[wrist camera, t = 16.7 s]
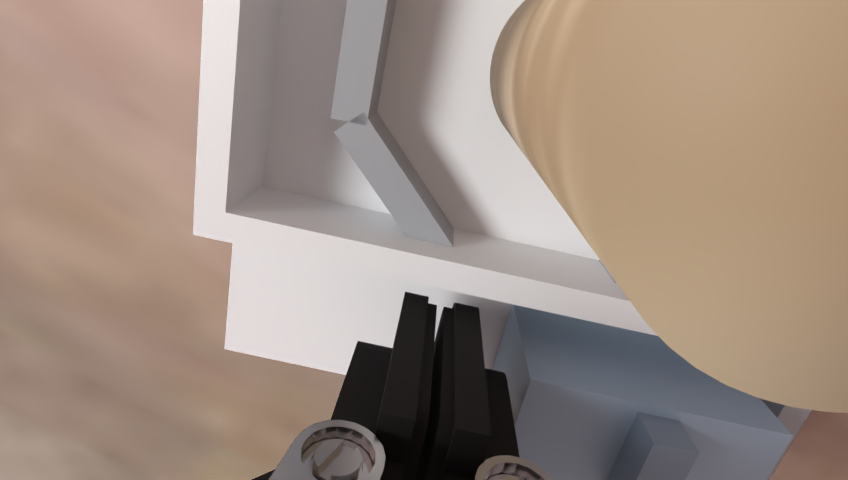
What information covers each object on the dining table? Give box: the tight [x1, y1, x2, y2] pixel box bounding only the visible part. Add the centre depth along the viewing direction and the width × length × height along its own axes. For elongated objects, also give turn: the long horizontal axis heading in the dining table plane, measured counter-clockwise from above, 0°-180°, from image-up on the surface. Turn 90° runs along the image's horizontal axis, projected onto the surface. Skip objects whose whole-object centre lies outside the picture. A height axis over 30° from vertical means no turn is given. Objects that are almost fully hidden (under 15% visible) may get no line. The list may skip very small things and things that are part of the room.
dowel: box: [490, 0, 848, 413], centre depth 6 cm, size 4×4×8 cm
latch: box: [492, 304, 793, 480], centre depth 11 cm, size 2×5×4 cm, turn 78°
